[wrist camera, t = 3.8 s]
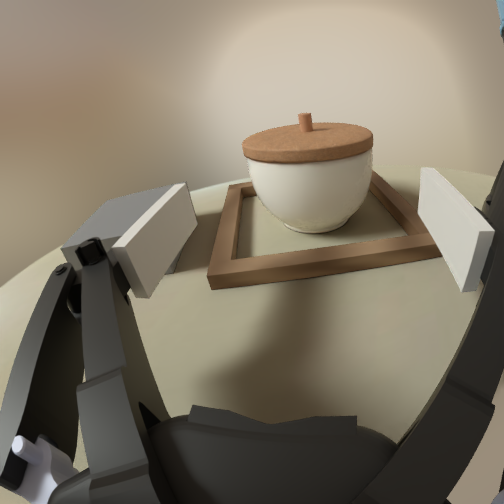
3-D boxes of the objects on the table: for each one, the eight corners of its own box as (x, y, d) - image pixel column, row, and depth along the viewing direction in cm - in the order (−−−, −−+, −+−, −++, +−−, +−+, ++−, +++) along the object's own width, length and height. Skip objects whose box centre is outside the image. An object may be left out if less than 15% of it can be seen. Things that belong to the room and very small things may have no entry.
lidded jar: (385, 202, 26) (383, 107, 21) (350, 262, 19) (346, 125, 14) (293, 188, 32) (281, 108, 27) (233, 234, 25) (209, 130, 20)
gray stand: (196, 215, 30) (186, 181, 28) (173, 273, 22) (155, 228, 20) (118, 230, 31) (106, 200, 29) (79, 284, 23) (60, 248, 21)
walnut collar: (370, 176, 32) (369, 167, 31) (442, 256, 17) (445, 242, 17) (231, 194, 34) (229, 185, 33) (211, 289, 19) (206, 276, 19)
